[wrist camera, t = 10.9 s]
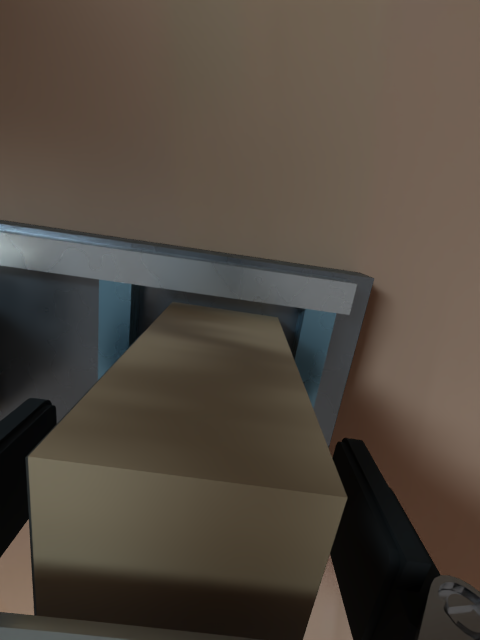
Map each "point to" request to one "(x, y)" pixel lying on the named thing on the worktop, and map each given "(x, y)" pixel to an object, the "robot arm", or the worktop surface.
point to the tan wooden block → (187, 486)
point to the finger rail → (156, 310)
